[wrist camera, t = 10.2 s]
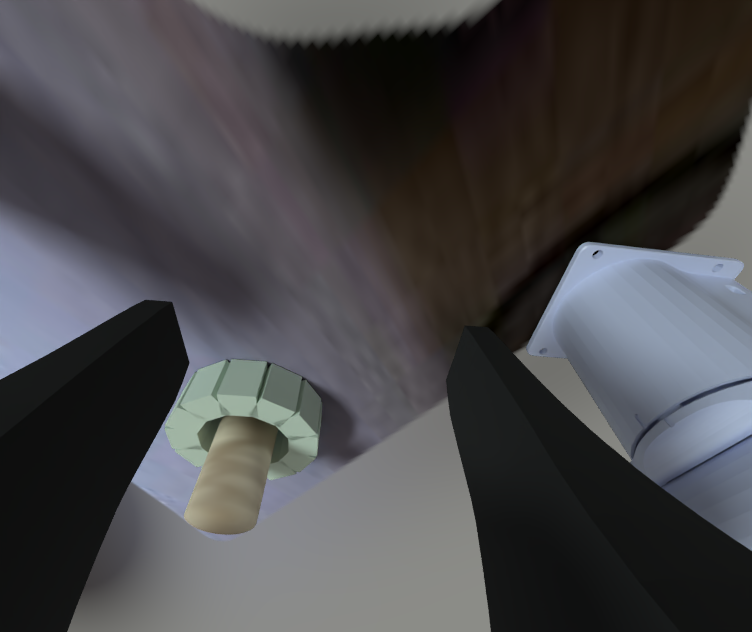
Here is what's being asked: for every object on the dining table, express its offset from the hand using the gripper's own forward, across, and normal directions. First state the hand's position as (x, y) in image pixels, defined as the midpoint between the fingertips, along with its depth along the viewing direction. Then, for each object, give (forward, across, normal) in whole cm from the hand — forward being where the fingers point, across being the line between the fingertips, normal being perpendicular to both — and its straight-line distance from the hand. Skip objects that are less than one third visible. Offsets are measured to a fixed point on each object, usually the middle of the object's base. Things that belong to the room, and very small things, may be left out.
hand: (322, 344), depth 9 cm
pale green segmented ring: (+10, +6, +16) cm, 20 cm away
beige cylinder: (+10, +6, +16) cm, 20 cm away
